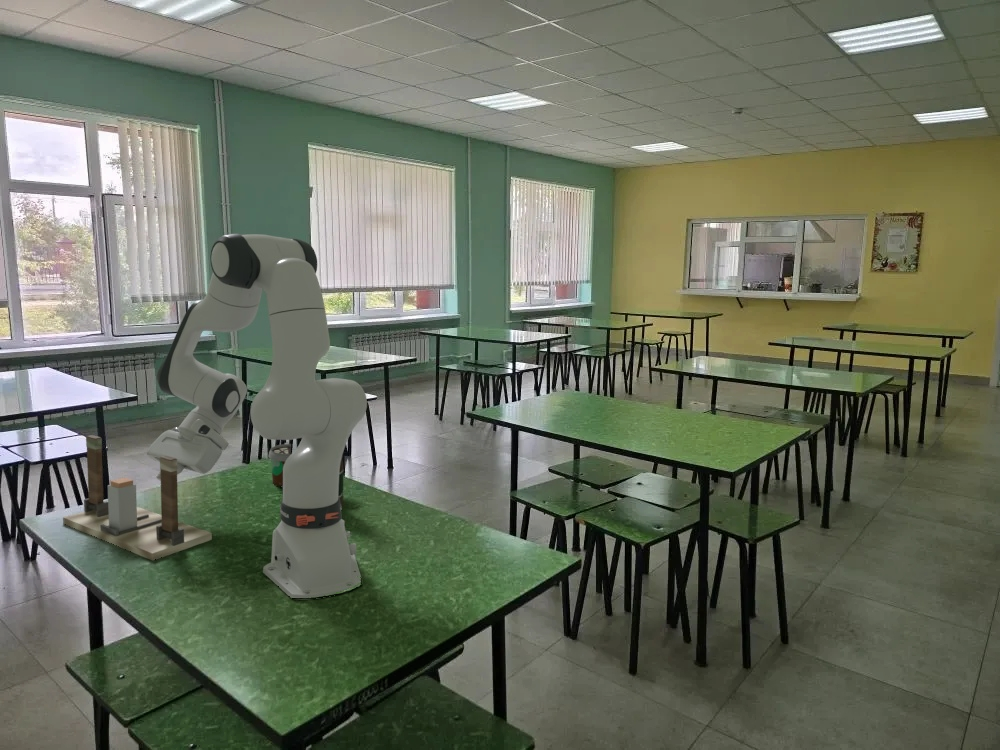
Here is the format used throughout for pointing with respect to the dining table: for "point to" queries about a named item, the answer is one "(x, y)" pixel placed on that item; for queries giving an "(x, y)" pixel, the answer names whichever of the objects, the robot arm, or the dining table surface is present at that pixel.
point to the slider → (122, 504)
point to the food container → (279, 462)
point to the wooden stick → (94, 470)
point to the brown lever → (169, 495)
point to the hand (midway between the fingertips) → (162, 480)
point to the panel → (137, 532)
